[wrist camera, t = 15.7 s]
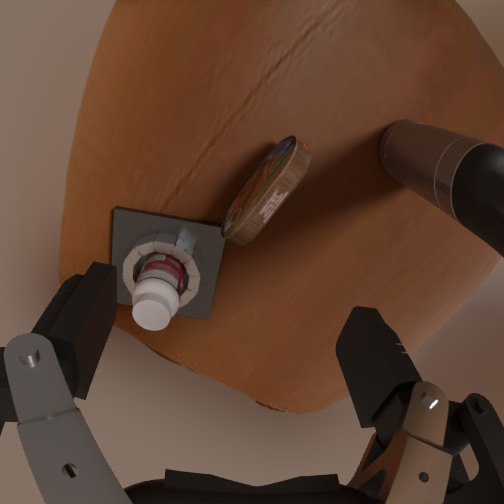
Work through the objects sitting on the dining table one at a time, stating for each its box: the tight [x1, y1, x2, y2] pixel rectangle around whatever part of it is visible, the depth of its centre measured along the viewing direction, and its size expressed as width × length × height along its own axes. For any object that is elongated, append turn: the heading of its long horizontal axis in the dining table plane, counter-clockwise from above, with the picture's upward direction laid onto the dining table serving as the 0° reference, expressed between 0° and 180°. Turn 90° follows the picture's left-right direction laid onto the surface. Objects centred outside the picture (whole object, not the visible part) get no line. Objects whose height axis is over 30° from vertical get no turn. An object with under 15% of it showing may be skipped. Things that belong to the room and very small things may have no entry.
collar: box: [112, 206, 226, 320], centre depth 45 cm, size 16×16×4 cm
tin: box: [221, 136, 311, 246], centre depth 39 cm, size 15×3×8 cm, turn 144°
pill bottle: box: [132, 252, 185, 331], centre depth 41 cm, size 6×6×11 cm
